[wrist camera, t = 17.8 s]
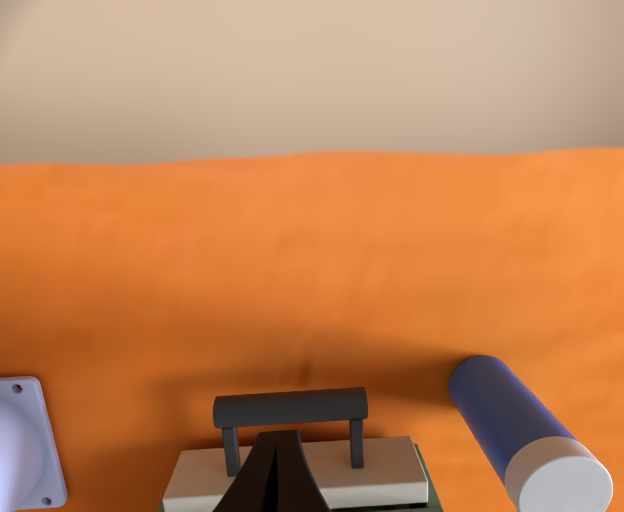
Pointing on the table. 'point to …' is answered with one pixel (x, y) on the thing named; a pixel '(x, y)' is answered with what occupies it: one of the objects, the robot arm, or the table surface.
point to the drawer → (320, 455)
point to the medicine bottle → (527, 442)
